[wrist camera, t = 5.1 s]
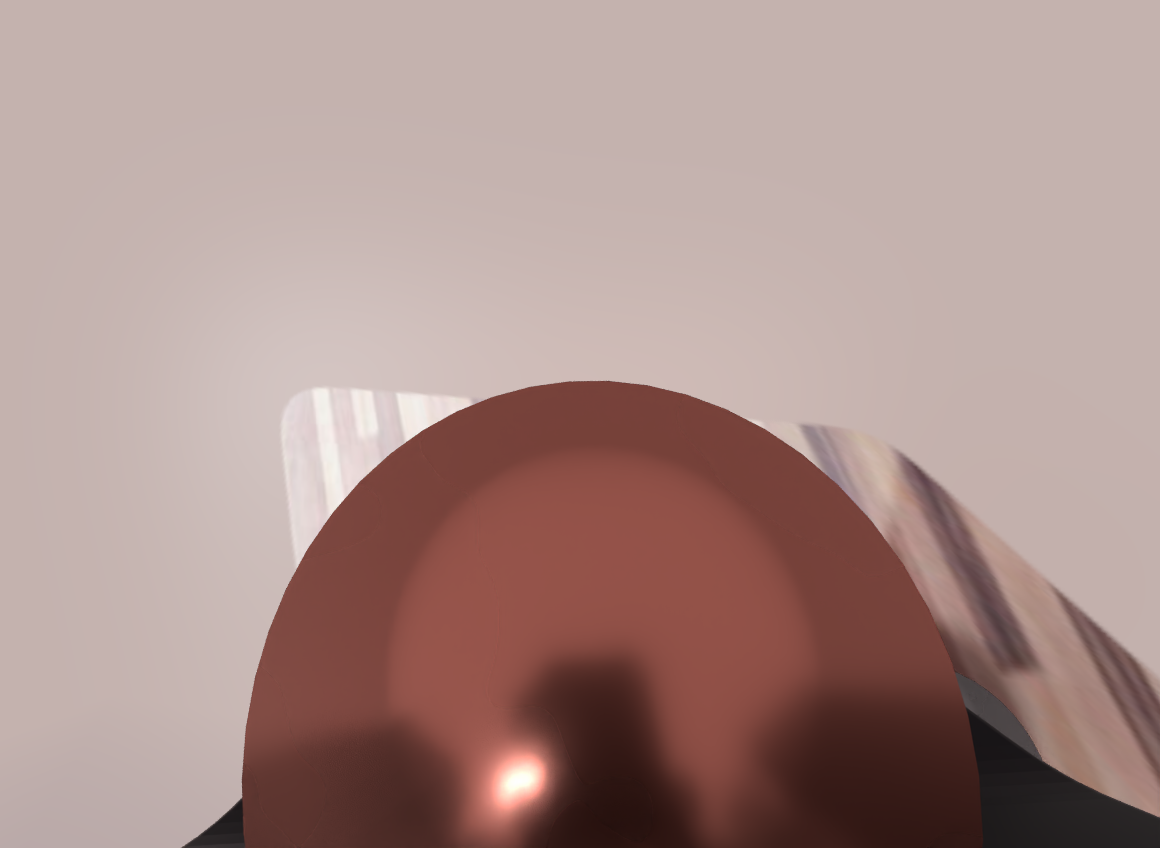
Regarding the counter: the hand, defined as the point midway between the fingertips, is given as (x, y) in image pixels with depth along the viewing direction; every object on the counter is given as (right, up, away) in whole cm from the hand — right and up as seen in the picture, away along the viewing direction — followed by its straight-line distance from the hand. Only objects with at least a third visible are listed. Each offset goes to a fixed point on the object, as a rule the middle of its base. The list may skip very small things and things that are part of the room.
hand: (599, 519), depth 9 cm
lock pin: (+1, -3, +6) cm, 7 cm away
